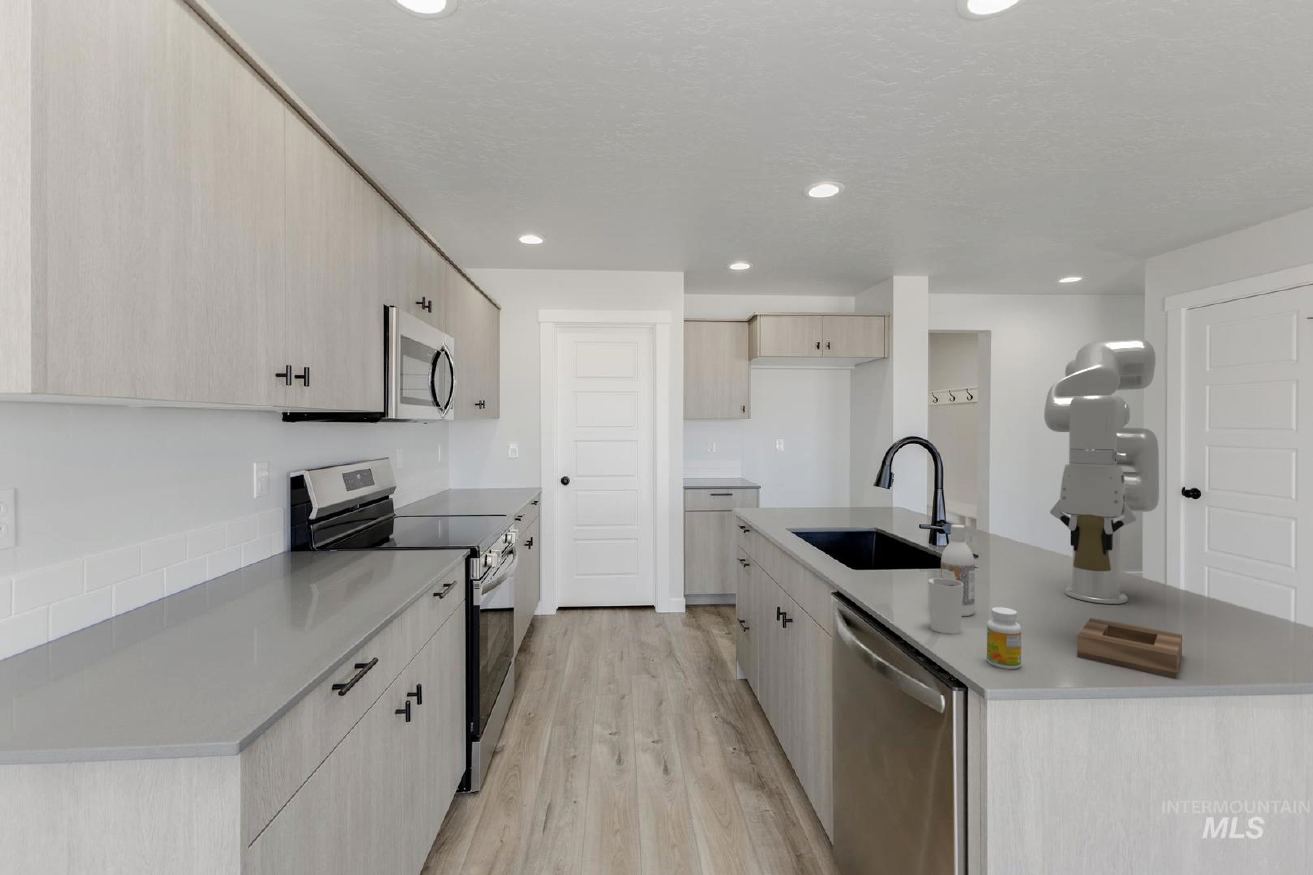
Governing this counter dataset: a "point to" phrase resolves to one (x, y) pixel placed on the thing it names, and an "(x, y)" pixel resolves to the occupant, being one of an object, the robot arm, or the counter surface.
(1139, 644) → the socket block
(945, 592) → the white cylindrical cup
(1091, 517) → the olive brown peg
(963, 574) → the bath foam
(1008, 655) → the supplement bottle
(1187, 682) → the counter surface
